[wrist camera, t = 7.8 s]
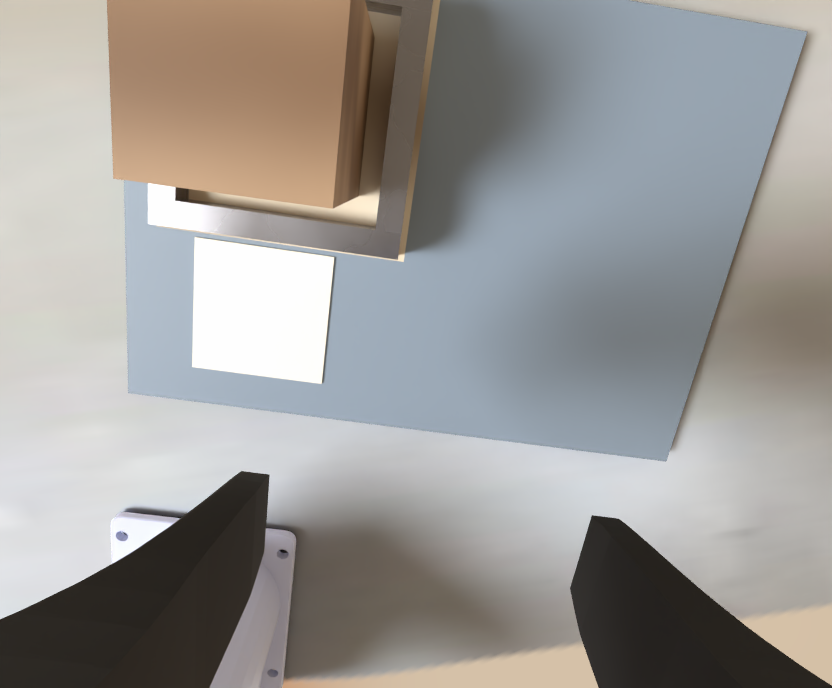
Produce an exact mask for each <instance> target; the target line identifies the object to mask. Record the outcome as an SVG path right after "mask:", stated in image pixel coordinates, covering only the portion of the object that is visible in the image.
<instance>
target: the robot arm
mask: <svg viewBox="0 0 832 688" xmlns="http://www.w3.org/2000/svg"><path fill="white" fill-rule="evenodd" d="M268 488H269V475H267V474H259V473H252V472H244V471H241V472H240V473H238V474H237V475H236V476H234V477H233V478H232V479H230V480H229V481H228V482H227V483H225V484H224V485H223V486H222V487H220V488H219V489H218V490H217V491H215V492H214V493H213V494H212V495H210V496H209V497H208V498H207V499H205V500H204V501H203V502H201V503H200V504H199V505H198V506H196V507H195V508H194V509H192V510H191V511H190V512H188V513H187V514H186V515H184V516H183V517H182V518H173V517H165V516H156V515H147V514H139V513H130V512H120V513H118V514H117V515H116V516H115V517H114V518H113V520H112V521H111V553H112V564H111V565H109V566H108V567H106V568H104V569H102V570H100V571H99V572H97V573H95V574H93V575H92V576H90V577H88V578H86V579H84V580H82V581H81V582H79V583H77V584H75V585H73V586H71V587H69V588H66V589H64V590H62V591H60V592H58V593H56V594H54V595H52V596H50V597H48V598H46V599H44V600H42V601H40V602H38V603H36V604H34V605H31V606H29V607H27V608H25V609H23V610H21V611H19V612H16V613H14V614H12V615H9V616H7V617H5V618H2V619H0V688H282V686H283V680H284V669H285V658H286V648H287V637H288V626H289V615H290V605H291V594H292V583H293V572H294V561H295V551H296V537H295V535H294V534H293V533H291V532H290V531H286V530H278V529H269V528H266V519H267V504H268ZM121 531H123V532H125V533H126V534H127V535H124V534H123V533H121ZM281 549H284V550H286V551H287V552H288V553H282V552H281V551H280V550H281ZM570 589H571V594H572V599H573V604H574V609H575V614H576V618H577V623H578V627H579V631H580V635H581V638H582V641H583V644H584V647H585V649H586V652H587V655H588V658H589V661H590V664H591V667H592V670H593V673H594V676H595V678H596V681H597V684H598V687H599V688H832V686H831V685H830V684H828V683H826V682H825V681H823V680H822V679H820V678H819V677H817V676H816V675H814V674H813V673H811V672H810V671H808V670H807V669H805V668H804V667H802V666H801V665H799V664H798V663H796V662H795V661H793V660H792V659H791V658H789V657H788V656H786V655H785V654H784V653H782V652H781V651H779V650H778V649H777V648H775V647H774V646H772V645H771V644H769V643H768V642H766V641H765V640H764V639H762V638H761V637H760V636H758V635H757V634H756V633H754V632H753V631H752V630H750V629H749V628H748V627H746V626H745V625H744V624H743V623H741V622H740V621H739V620H738V619H736V618H735V617H734V616H733V615H731V614H730V613H729V612H728V611H726V610H725V609H724V608H723V607H721V606H720V605H719V604H718V603H716V602H715V601H714V600H713V599H711V598H710V597H709V596H708V595H707V594H705V593H704V592H703V591H702V590H701V589H700V588H698V587H697V586H696V585H695V584H694V583H693V582H691V581H690V580H689V579H688V578H687V577H686V576H684V575H683V574H682V573H681V572H680V571H679V570H678V569H676V568H675V567H674V566H673V565H672V564H671V563H670V562H669V561H667V560H666V559H665V558H664V557H663V556H662V555H661V554H660V553H658V552H657V551H656V550H655V549H654V548H653V547H652V546H651V545H649V544H648V543H647V542H646V541H645V540H644V539H643V538H641V537H640V536H639V535H638V534H637V533H636V532H635V531H633V530H632V529H631V528H630V527H629V526H627V525H626V524H625V523H624V522H622V521H621V520H620V519H616V518H608V517H601V516H593V515H592V517H591V521H590V524H589V527H588V531H587V534H586V537H585V541H584V544H583V547H582V551H581V554H580V557H579V561H578V564H577V567H576V571H575V574H574V577H573V581H572V584H571V587H570ZM272 669H274V670H272Z"/></svg>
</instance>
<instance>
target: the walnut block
mask: <svg viewBox="0 0 832 688" xmlns="http://www.w3.org/2000/svg"><path fill="white" fill-rule="evenodd" d="M107 14H108V41H109V69H110V97H111V124H112V152H113V179H121V180H128V181H135V182H142V183H150V184H157V185H164V186H171V187H179V188H186V189H193V190H200V191H208V192H215V193H222V194H229V195H237V196H244V197H251V198H258V199H265V200H273V201H280V202H287V203H294V204H302V205H309V206H316V207H323V208H331V209H333V208H335V207H338V206H340V205H342V204H344V203H346V202H348V201H350V200H352V199H354V198H356V197H358V196H359V190H360V180H361V170H362V159H363V149H364V139H365V129H366V119H367V109H368V99H369V89H370V79H371V69H372V59H373V49H374V39H375V37H374V33H373V29H372V25H371V21H370V18H369V14H368V10H367V6H366V2H365V0H107Z"/></svg>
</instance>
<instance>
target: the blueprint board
mask: <svg viewBox="0 0 832 688" xmlns="http://www.w3.org/2000/svg"><path fill="white" fill-rule="evenodd" d="M365 2H366V6H367V10H368V14H369V18H370V21H371V25H372V29H373V33H374V37H375V39H374V49H373V59H372V69H371V79H370V89H369V99H368V109H367V119H366V129H365V139H364V149H363V159H362V170H361V180H360V190H359V196H358V197H356V198H354V199H352V200H350V201H348V202H346V203H344V204H342V205H340V206H338V207H335V208H333V209H331V208H323V207H316V206H309V205H302V204H294V203H287V202H280V201H273V200H265V199H258V198H251V197H244V196H237V195H229V194H222V193H215V192H208V191H200V190H193V189H186V188H179V187H171V186H164V185H157V184H150V183H142V182H135V181H128V180H124V207H125V256H126V305H127V354H128V393H131V394H139V395H147V396H155V397H163V398H171V399H179V400H186V401H194V402H202V403H210V404H218V405H226V406H234V407H242V408H249V409H257V410H265V411H273V412H281V413H289V414H297V415H304V416H312V417H320V418H328V419H336V420H344V421H352V422H360V423H367V424H375V425H383V426H391V427H399V428H407V429H415V430H422V431H430V432H438V433H446V434H454V435H462V436H470V437H478V438H485V439H493V440H501V441H509V442H517V443H525V444H533V445H540V446H548V447H556V448H564V449H572V450H580V451H588V452H596V453H603V454H611V455H619V456H627V457H635V458H643V459H651V460H658V461H667V458H668V455H669V452H670V449H671V446H672V443H673V439H674V436H675V433H676V430H677V427H678V424H679V421H680V418H681V415H682V412H683V409H684V406H685V403H686V400H687V397H688V394H689V391H690V388H691V385H692V382H693V379H694V376H695V373H696V369H697V366H698V363H699V360H700V357H701V354H702V351H703V348H704V345H705V342H706V339H707V336H708V333H709V330H710V327H711V324H712V321H713V318H714V315H715V312H716V309H717V306H718V302H719V299H720V296H721V293H722V290H723V287H724V284H725V281H726V278H727V275H728V272H729V269H730V266H731V263H732V260H733V257H734V254H735V251H736V248H737V245H738V242H739V239H740V235H741V232H742V229H743V226H744V223H745V220H746V217H747V214H748V211H749V208H750V205H751V202H752V199H753V196H754V193H755V190H756V187H757V184H758V181H759V178H760V175H761V172H762V169H763V165H764V162H765V159H766V156H767V153H768V150H769V147H770V144H771V141H772V138H773V135H774V132H775V129H776V126H777V123H778V120H779V117H780V114H781V111H782V108H783V105H784V102H785V98H786V95H787V92H788V89H789V86H790V83H791V80H792V77H793V74H794V71H795V68H796V65H797V62H798V59H799V56H800V53H801V50H802V47H803V44H804V41H805V38H806V35H807V32H806V31H801V30H795V29H789V28H784V27H778V26H772V25H767V24H761V23H755V22H750V21H744V20H738V19H732V18H727V17H721V16H715V15H710V14H704V13H698V12H693V11H687V10H681V9H676V8H670V7H664V6H659V5H653V4H647V3H641V2H636V1H630V0H365Z"/></svg>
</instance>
